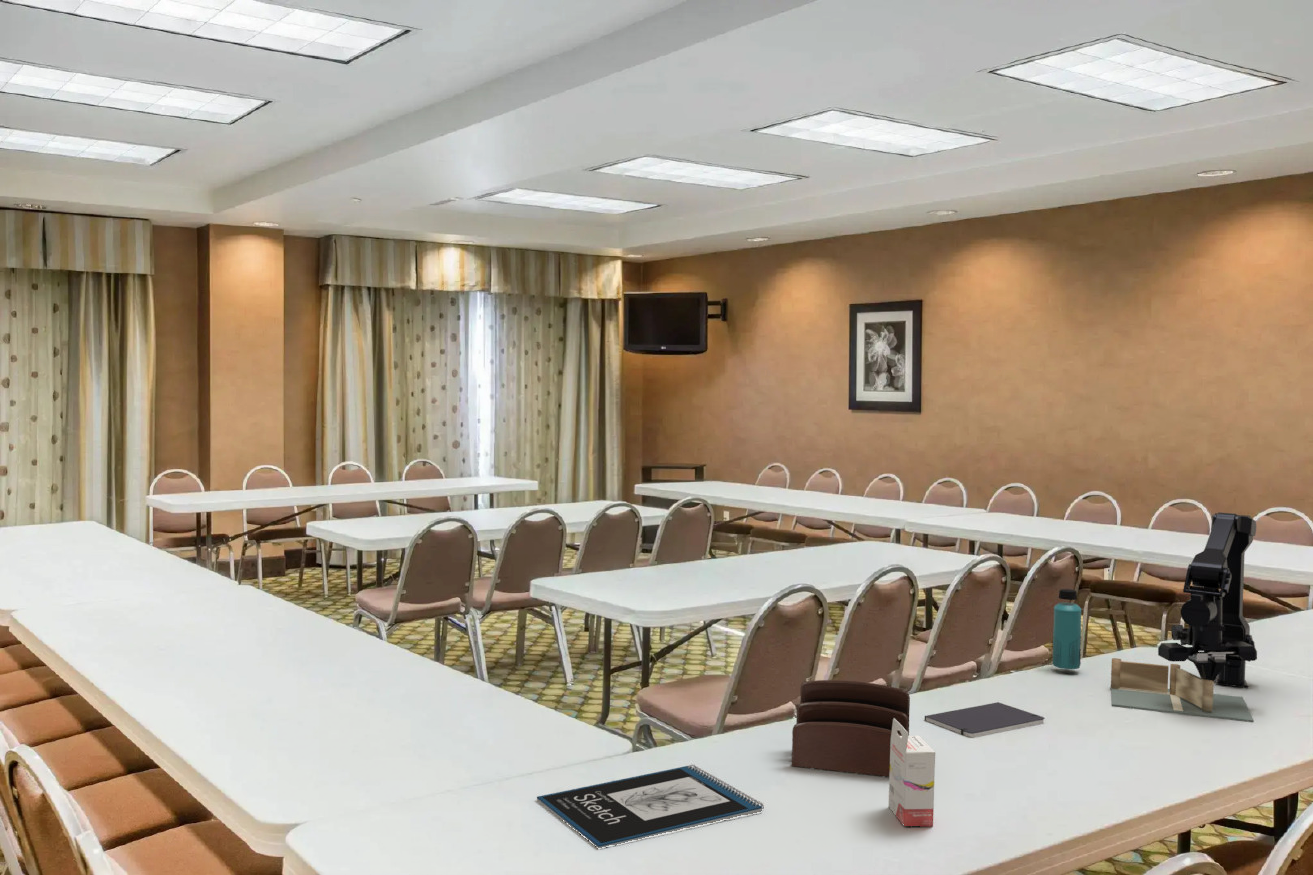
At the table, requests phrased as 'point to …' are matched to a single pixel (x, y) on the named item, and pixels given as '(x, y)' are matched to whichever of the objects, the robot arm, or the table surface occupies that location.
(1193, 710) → the board
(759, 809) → the sketchbook
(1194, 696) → the hinged panel
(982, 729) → the notebook
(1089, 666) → the table surface
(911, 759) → the ink cartridge box
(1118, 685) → the fixed fence
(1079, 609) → the beverage bottle
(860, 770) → the letter holder
